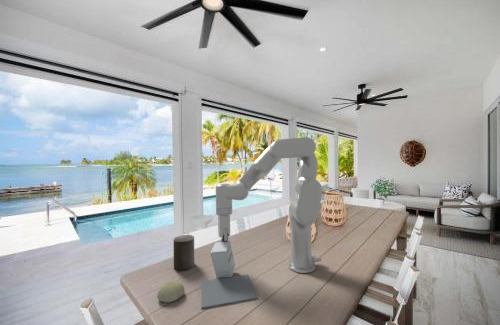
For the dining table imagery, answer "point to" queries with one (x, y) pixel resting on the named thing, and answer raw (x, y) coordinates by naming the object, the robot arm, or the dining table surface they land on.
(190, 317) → the dining table surface
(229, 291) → the charcoal mat
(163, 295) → the sea urchin shell
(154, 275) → the dining table surface
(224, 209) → the robot arm
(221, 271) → the supplement box
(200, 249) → the dining table surface
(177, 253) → the pillar candle
